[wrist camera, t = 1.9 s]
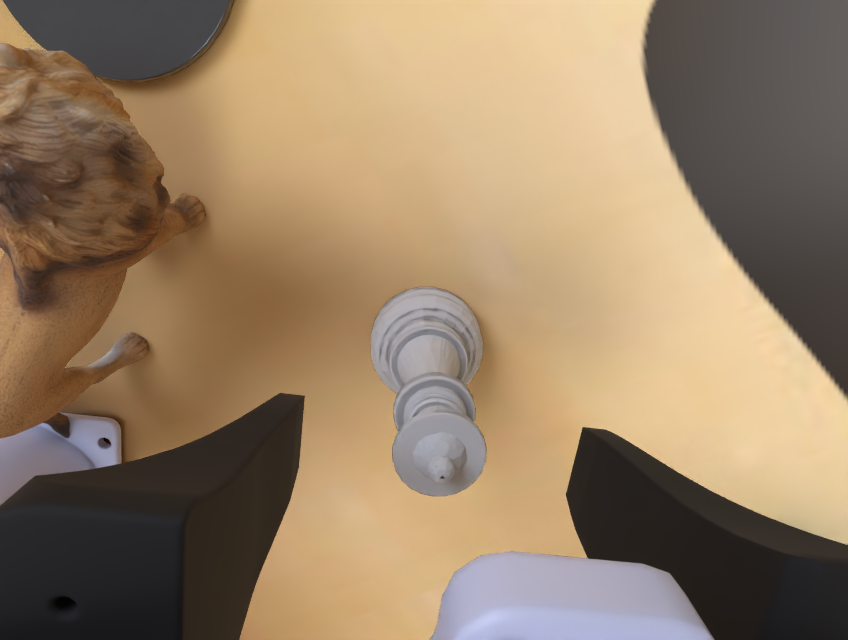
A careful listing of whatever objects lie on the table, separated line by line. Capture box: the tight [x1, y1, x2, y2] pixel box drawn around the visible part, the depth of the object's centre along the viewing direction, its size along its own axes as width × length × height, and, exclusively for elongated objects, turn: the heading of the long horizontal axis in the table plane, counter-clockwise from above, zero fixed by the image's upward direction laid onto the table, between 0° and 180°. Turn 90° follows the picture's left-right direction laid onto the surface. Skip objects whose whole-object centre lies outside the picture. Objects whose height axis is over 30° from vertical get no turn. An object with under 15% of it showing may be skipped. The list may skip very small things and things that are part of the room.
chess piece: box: [371, 287, 487, 496], centre depth 17 cm, size 4×4×10 cm
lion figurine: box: [0, 43, 206, 439], centre depth 17 cm, size 15×5×9 cm, turn 157°
